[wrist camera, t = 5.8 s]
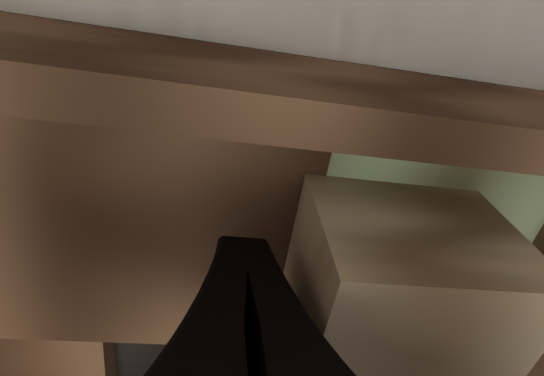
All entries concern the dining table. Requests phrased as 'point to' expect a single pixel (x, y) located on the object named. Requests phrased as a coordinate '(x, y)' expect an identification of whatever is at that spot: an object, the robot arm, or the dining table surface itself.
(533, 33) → the dining table surface
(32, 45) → the trap box
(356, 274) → the birch block
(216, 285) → the robot arm
